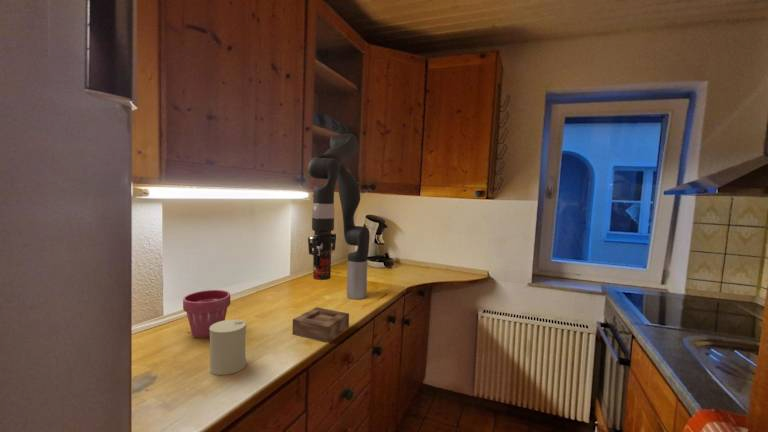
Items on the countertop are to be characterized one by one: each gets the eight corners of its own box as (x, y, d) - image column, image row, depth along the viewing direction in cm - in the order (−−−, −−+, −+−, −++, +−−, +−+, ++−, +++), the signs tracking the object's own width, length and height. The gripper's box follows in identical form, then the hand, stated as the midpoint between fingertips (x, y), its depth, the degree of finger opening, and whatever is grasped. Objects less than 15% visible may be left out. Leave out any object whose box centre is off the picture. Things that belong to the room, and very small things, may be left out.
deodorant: (309, 278, 117) (310, 235, 116) (320, 275, 122) (321, 233, 121) (323, 280, 114) (324, 236, 113) (333, 277, 119) (334, 235, 118)
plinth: (316, 320, 128) (316, 307, 128) (348, 327, 123) (349, 313, 123) (292, 334, 116) (292, 319, 115) (327, 342, 110) (327, 326, 110)
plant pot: (173, 335, 111) (172, 297, 111) (210, 321, 124) (210, 287, 123) (203, 345, 106) (203, 304, 105) (239, 329, 118) (239, 293, 118)
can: (252, 366, 94) (252, 324, 93) (217, 379, 87) (217, 333, 86) (236, 355, 100) (237, 315, 99) (203, 366, 93) (203, 323, 92)
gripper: (325, 215, 125) (324, 260, 126) (301, 217, 112) (300, 267, 113) (343, 216, 122) (342, 262, 123) (320, 218, 109) (319, 270, 110)
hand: (322, 264), depth 118 cm, fingers closed on deodorant, 6 cm apart
